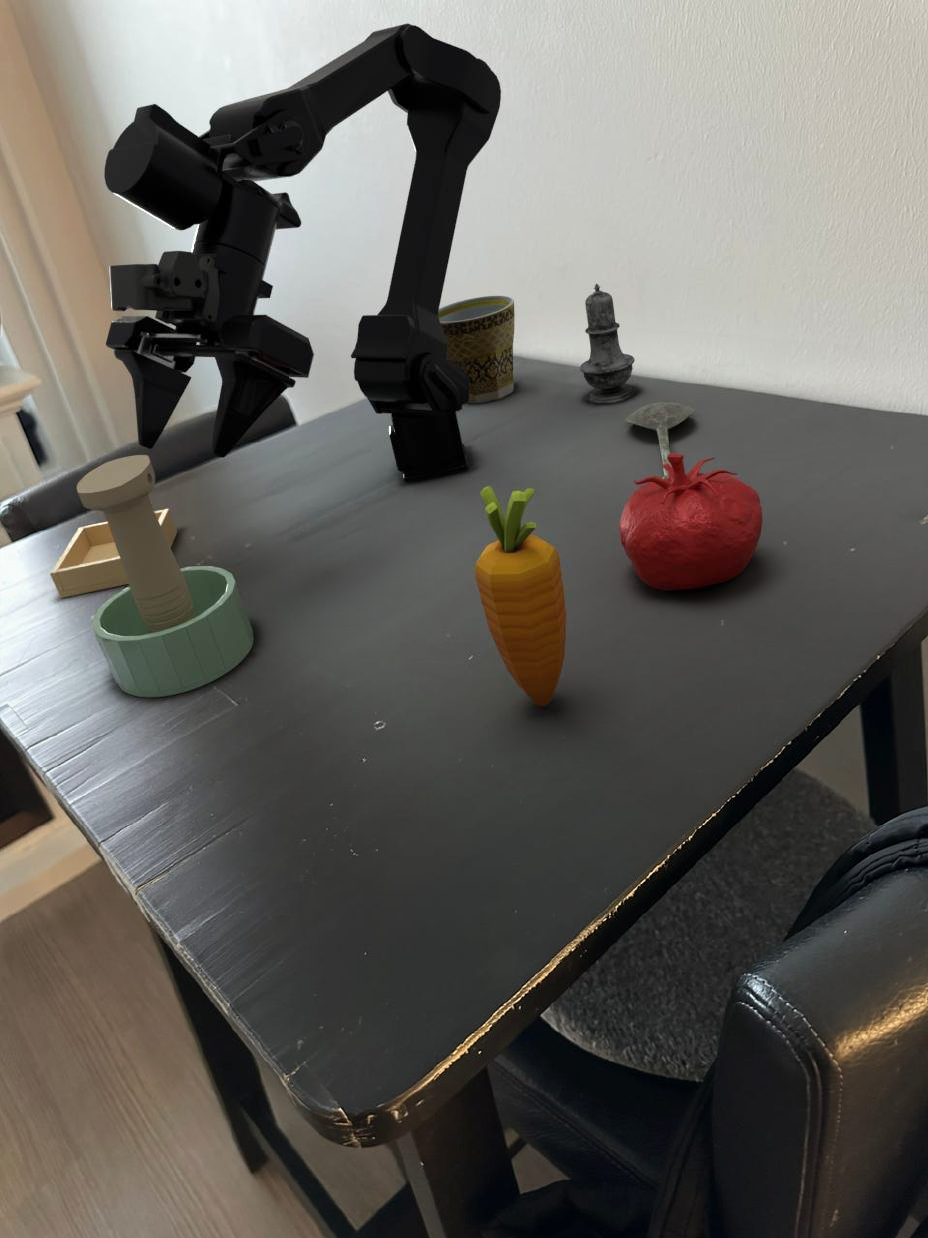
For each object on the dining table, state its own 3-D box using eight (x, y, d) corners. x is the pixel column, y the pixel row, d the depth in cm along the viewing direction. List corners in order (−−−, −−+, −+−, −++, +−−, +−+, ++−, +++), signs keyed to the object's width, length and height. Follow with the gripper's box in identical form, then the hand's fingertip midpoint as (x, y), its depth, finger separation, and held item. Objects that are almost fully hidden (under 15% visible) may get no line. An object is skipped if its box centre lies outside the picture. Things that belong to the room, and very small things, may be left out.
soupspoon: (694, 417, 103) (629, 429, 105) (690, 384, 102) (624, 397, 103) (709, 501, 84) (628, 514, 86) (703, 463, 83) (622, 477, 84)
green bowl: (261, 608, 84) (242, 555, 81) (245, 680, 74) (224, 621, 72) (133, 635, 84) (111, 582, 82) (101, 709, 75) (75, 652, 72)
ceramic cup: (545, 381, 120) (531, 295, 115) (489, 412, 115) (472, 323, 110) (466, 374, 129) (450, 294, 124) (410, 403, 123) (391, 320, 118)
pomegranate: (769, 599, 70) (762, 474, 65) (622, 610, 72) (605, 490, 68) (760, 533, 78) (753, 418, 73) (628, 545, 81) (614, 434, 76)
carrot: (500, 692, 67) (454, 480, 59) (575, 676, 66) (539, 462, 59) (509, 736, 62) (461, 514, 55) (590, 720, 62) (552, 494, 55)
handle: (224, 626, 81) (160, 450, 74) (202, 671, 76) (130, 486, 69) (167, 634, 82) (98, 461, 75) (141, 679, 77) (63, 497, 69)
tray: (177, 531, 102) (169, 508, 101) (158, 577, 93) (148, 552, 92) (88, 550, 103) (78, 527, 101) (60, 598, 94) (49, 573, 92)
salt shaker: (636, 400, 108) (623, 286, 103) (581, 407, 110) (565, 295, 104) (639, 382, 113) (627, 272, 107) (586, 389, 115) (571, 280, 109)
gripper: (72, 217, 79) (21, 411, 79) (226, 198, 68) (168, 425, 68) (187, 279, 88) (142, 454, 88) (340, 272, 77) (289, 473, 77)
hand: (179, 451), depth 80 cm, fingers open, 9 cm apart
